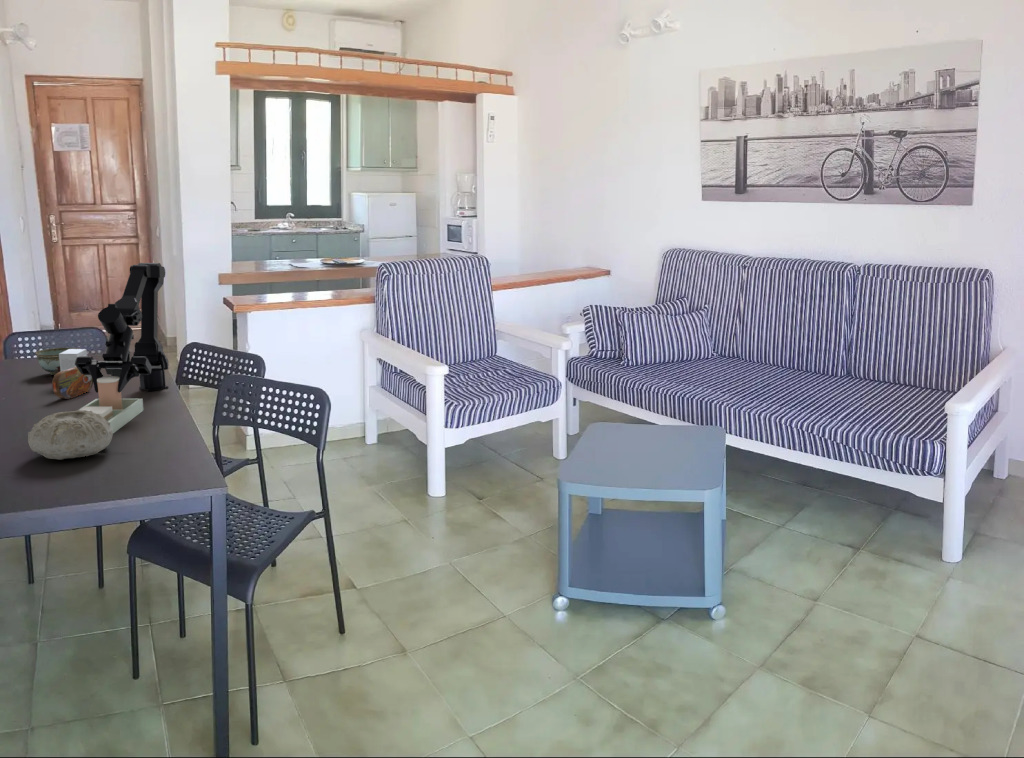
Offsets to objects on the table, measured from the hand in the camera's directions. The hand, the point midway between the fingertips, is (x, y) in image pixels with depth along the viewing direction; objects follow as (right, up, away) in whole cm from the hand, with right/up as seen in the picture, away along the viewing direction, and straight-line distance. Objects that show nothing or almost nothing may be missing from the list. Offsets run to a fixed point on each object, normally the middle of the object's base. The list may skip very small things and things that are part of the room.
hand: (107, 391), depth 228 cm
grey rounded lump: (+5, -15, -27) cm, 32 cm away
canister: (0, -6, +3) cm, 7 cm away
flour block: (+1, -9, -9) cm, 13 cm away
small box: (-30, +2, +42) cm, 52 cm away
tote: (0, -9, -3) cm, 9 cm away
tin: (-23, -2, +27) cm, 36 cm away
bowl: (-41, +5, +53) cm, 68 cm away
